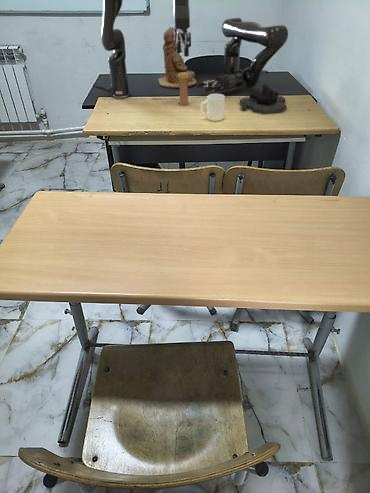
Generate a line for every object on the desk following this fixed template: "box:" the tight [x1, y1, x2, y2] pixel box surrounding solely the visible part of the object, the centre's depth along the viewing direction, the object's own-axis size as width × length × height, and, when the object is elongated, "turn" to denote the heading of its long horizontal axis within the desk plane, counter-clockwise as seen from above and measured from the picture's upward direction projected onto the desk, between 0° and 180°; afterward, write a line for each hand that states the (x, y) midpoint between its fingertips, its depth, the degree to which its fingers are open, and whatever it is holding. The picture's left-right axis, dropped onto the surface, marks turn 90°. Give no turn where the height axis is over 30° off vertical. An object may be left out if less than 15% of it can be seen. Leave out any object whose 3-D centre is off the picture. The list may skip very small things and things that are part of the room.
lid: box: [178, 72, 189, 79], centre depth 184 cm, size 6×6×2 cm
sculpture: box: [157, 27, 198, 89], centre depth 214 cm, size 27×24×30 cm
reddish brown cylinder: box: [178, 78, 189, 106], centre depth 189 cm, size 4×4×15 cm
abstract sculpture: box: [239, 84, 287, 115], centre depth 184 cm, size 25×9×20 cm
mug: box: [199, 93, 226, 122], centre depth 172 cm, size 12×8×10 cm
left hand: (182, 54), depth 178 cm, fingers open, 8 cm apart
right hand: (201, 87), depth 193 cm, fingers open, 8 cm apart
